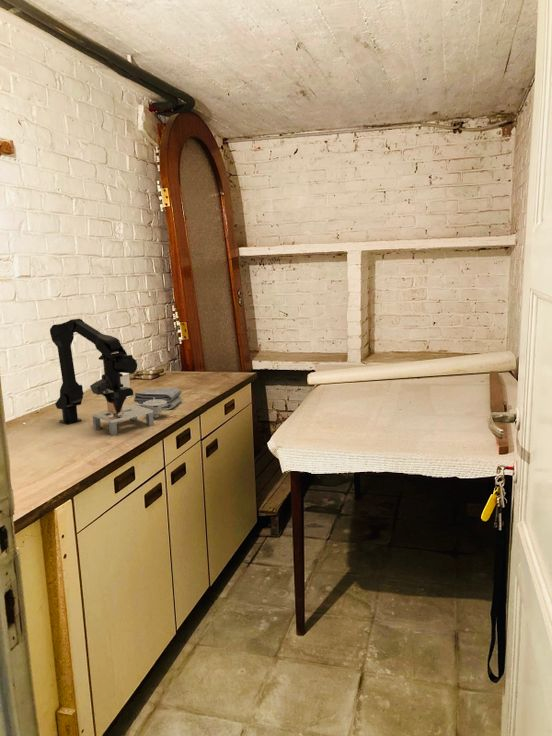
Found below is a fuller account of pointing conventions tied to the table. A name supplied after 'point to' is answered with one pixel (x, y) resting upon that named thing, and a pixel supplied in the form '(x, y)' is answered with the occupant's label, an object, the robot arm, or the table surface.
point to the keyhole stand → (122, 417)
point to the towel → (159, 396)
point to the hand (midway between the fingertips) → (115, 411)
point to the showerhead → (155, 406)
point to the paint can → (125, 381)
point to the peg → (113, 408)
